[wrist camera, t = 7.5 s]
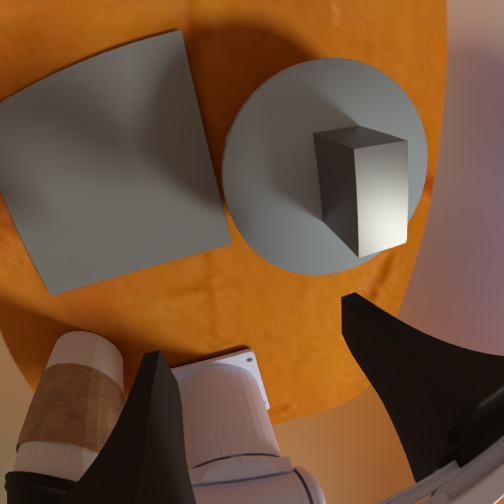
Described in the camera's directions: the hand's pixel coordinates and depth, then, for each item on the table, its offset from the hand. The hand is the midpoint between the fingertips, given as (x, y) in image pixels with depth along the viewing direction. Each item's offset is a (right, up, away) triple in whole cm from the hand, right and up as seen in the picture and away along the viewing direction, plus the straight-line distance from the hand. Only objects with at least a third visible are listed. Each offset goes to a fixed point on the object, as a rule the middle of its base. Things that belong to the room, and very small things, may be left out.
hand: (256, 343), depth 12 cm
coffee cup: (-13, -5, +11) cm, 18 cm away
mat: (-9, +8, +4) cm, 13 cm away
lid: (+4, +7, +3) cm, 9 cm away
